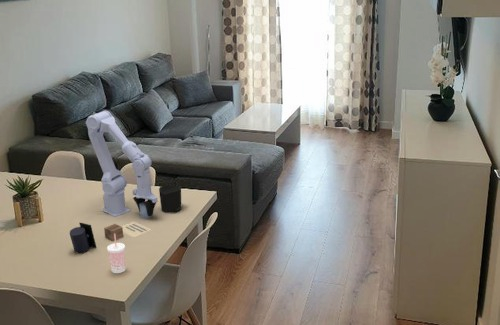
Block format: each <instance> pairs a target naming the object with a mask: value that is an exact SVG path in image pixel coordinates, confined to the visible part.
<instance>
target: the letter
mask: <svg viewBox="0 0 500 325" xmlns="http://www.w3.org/2000/svg"><path fill="white" fill-rule="evenodd" d="M121 227H122V228H123V234H125V235H128V236H129V237H132V238H135V237H138V236H140V235H143V234H145V233H147V232H150V231H152V229H151V228H149V227H147V226H145V225H143V224H140V222H139V223H138V222H136V221H131V222H129V223H127V224H124V225H121Z"/></svg>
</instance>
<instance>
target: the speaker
mask: <svg viewBox="0 0 500 325" xmlns="http://www.w3.org/2000/svg"><path fill="white" fill-rule="evenodd" d="M69 236H70V240H71V243H72V247H73V250H74V252H75V253H76V254H83V253H85V252H87V251H89V250H90V248H95V249H96V248H97V244H96V243H97V242H96V239H95V237H94V232H93V228H92V225H91V224H88V223H83V222H79V226H77V227H74V228H72V229H70V230H69Z"/></svg>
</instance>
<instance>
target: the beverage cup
mask: <svg viewBox="0 0 500 325" xmlns="http://www.w3.org/2000/svg"><path fill="white" fill-rule="evenodd" d="M114 239H115V241H114V243H111V244H109V245H107V247H106V250H107V253H108V257H109V262H110V267H111V268H110V269H111V272H112V273H114V274H120V273H123V272H125V271H126V258H125V257H126V255H125V254H126V253H125V251H126V250H125V249H126V245H125V244H124V243H122V242H117V240H116V235H115V233H114Z"/></svg>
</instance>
